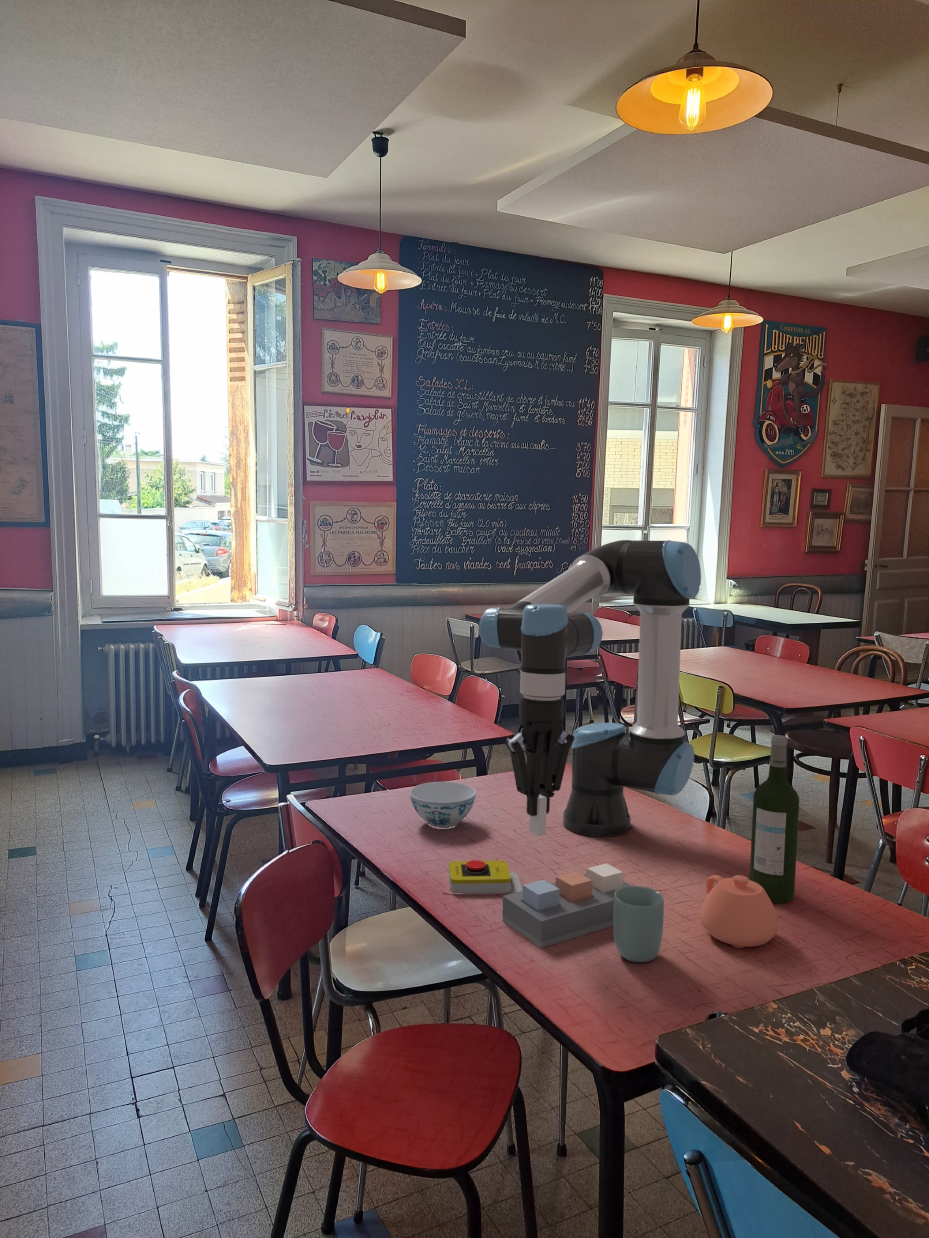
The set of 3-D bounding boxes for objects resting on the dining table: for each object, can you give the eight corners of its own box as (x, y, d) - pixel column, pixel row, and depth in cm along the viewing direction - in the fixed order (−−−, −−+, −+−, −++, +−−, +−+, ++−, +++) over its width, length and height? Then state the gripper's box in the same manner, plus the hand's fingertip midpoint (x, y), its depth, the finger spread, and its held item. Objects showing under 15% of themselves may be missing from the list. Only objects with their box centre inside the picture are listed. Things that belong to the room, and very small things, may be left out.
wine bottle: (793, 889, 162) (801, 733, 158) (794, 906, 154) (803, 743, 151) (749, 883, 164) (756, 729, 161) (748, 900, 157) (756, 739, 154)
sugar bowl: (738, 961, 135) (740, 898, 134) (677, 924, 147) (679, 866, 146) (793, 944, 141) (796, 884, 140) (730, 909, 153) (733, 854, 152)
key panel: (600, 893, 159) (601, 869, 159) (642, 916, 150) (643, 891, 149) (502, 920, 148) (502, 895, 147) (540, 947, 138) (541, 921, 138)
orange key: (575, 890, 151) (575, 871, 151) (591, 899, 148) (592, 880, 147) (555, 895, 149) (555, 876, 149) (571, 905, 145) (571, 885, 145)
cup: (606, 944, 140) (608, 886, 139) (653, 943, 140) (655, 884, 139) (619, 969, 132) (621, 907, 131) (668, 967, 133) (671, 905, 132)
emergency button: (441, 854, 167) (517, 853, 168) (440, 876, 167) (517, 875, 168) (442, 874, 158) (523, 873, 159) (442, 897, 158) (523, 895, 159)
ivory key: (605, 881, 155) (606, 863, 155) (622, 890, 151) (622, 871, 151) (586, 887, 153) (587, 868, 152) (603, 896, 149) (603, 877, 149)
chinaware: (487, 821, 197) (488, 788, 196) (452, 841, 185) (452, 806, 184) (434, 809, 205) (434, 777, 204) (396, 827, 193) (396, 794, 192)
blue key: (543, 899, 148) (543, 879, 147) (559, 908, 144) (559, 888, 144) (522, 904, 145) (522, 884, 145) (537, 914, 142) (538, 894, 141)
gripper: (559, 690, 151) (554, 821, 153) (497, 695, 144) (493, 831, 146) (586, 697, 144) (581, 833, 146) (522, 702, 138) (517, 845, 140)
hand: (537, 832), depth 146 cm, fingers closed
